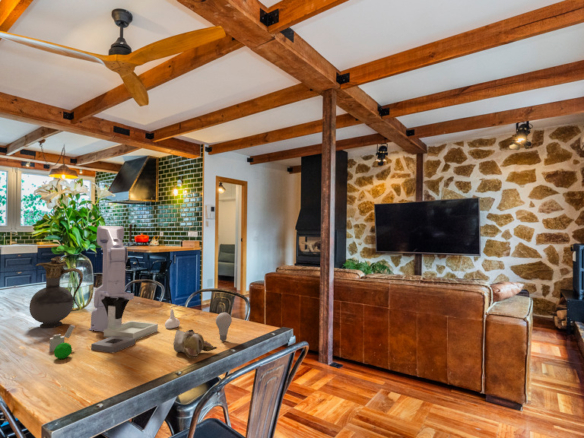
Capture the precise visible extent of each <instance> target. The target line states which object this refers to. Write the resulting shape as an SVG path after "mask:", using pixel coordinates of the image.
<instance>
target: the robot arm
mask: <svg viewBox="0 0 584 438" xmlns="http://www.w3.org/2000/svg"><path fill="white" fill-rule="evenodd" d="M124 236H125V227H124V226H123V225H98V226H97V229H96V243H97V246H99V247H101V248H102V281H101V282H102V283H101V285H99V286H98V287H97V288H96V289H95V291H94V295H93V308H94V309H93V310H92V311H91V315H90V328H88V330H89V331H93V330H94V332H95V331H96V332H101V333H104V330H105V329H108V328H107V327H108V306H110V305H115V310H116V319H120V318H122V319H123V316H124V312H125V309H126V307H127V305H128V303H129V302H130V300H134V297H135V293H131V292H127V291H125V286H126V264H127V262H128V258H129V257H128V256H129V255H128V254H129V253H128V251H129V250H128V247H126V246H124V243H123V241H124Z"/></svg>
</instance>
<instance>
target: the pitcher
mask: <svg viewBox="0 0 584 438" xmlns="http://www.w3.org/2000/svg"><path fill="white" fill-rule="evenodd" d="M50 260H51V261H49V262H48V261H47V262H39V263H37V264H36V265H35V266H36V267H37V266H41V267H43V269H44V270H45V287H43V288H42V289H39V290H38V291H36V292H35V293H34V294H33V295H32V298H31V299H30V302H29V306H28V307H29V314H30V316H31V318H33V319H34V321H36V322H38V323H41V324H40V325H39V328H41V329H49V328H51V329H52V328H57V327H60V326H62V325H63V320H64V319H66V318H67V317H69V315H70V314H71V312H72V311H73V308H74V304H75V306H77V308H78V309H79V308H80V306H79V304H78V303H77V301H76V295H77V292H78V291H79V289H80V287H81V285H82V283H83V280H84V279H83V278H84V274H83V272H82V270H81V269H79V268H77V267H76V268H75V267H71V268H67V269H66V268H64V266H65V265H66V264H67V262H68V260H63V261H62V257H61V256H55V257H52V258H51V259H50ZM61 261H62V262H61ZM71 272H73V273H77V274H78V275H79V281H78V284H77V287H76V288H75V291H74V292H73V295H72V293H71V291H70V290H69V289H67V288H65V287H62V286H61V285H60V283H61V277H62V275H64V274H68V273H71Z"/></svg>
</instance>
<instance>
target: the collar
mask: <svg viewBox="0 0 584 438" xmlns="http://www.w3.org/2000/svg"><path fill="white" fill-rule="evenodd" d="M135 344H136V340H135V338H128V337H120V336H112V337H109V338H104V339H101V340H98V341H95V342H93V343H91V346H90V348H91V351H99V352H105V353H109V354H110V353H111V354H115V353H117V352H120V351H123V350H125V349H127V348H129V347H131V345H132V346H133V345H135Z"/></svg>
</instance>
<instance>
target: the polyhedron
mask: <svg viewBox="0 0 584 438" xmlns="http://www.w3.org/2000/svg"><path fill="white" fill-rule="evenodd" d="M72 351H73V348H72V345H71V344H70V343H68V342H64V343H61V344H59V345H58V346H56V348H55V350H54V351H53V355H54V357H55V358H57V359H59V360H62V359H63V360H64V359H65V358H68V357H69V356H70V355H71V354H72Z"/></svg>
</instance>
